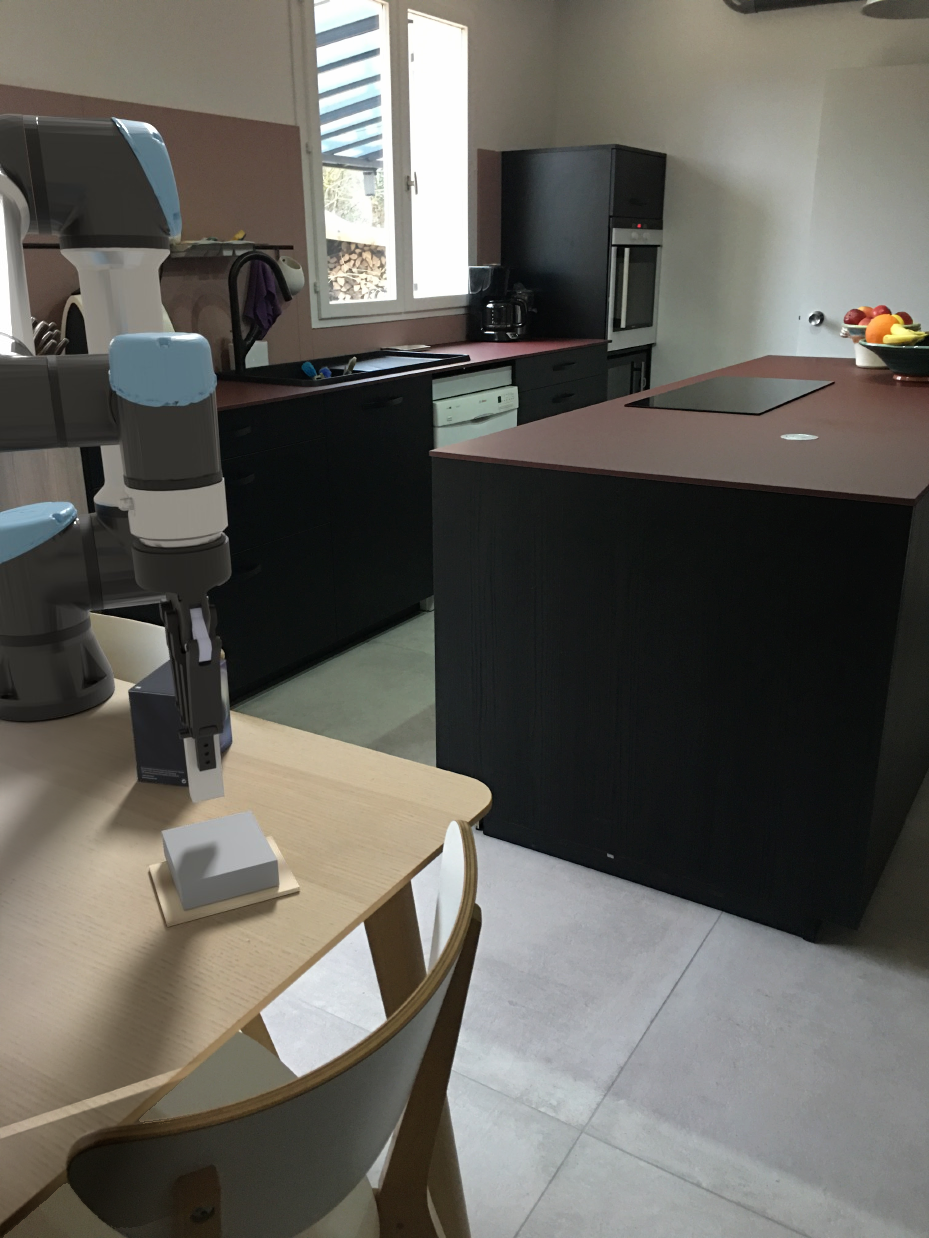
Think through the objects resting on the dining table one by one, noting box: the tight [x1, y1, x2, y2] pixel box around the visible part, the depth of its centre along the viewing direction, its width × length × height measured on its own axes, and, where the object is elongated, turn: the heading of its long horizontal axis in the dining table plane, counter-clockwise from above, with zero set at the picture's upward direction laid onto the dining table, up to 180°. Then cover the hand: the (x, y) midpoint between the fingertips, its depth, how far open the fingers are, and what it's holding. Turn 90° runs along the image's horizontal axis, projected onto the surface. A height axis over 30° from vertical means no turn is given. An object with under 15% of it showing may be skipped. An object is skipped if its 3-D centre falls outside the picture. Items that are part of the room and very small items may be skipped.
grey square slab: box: [161, 810, 280, 910], centre depth 85 cm, size 3×8×9 cm
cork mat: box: [148, 835, 301, 928], centre depth 84 cm, size 9×11×1 cm
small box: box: [127, 658, 234, 788], centre depth 103 cm, size 11×6×10 cm, turn 168°
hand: (207, 795), depth 85 cm, fingers closed
